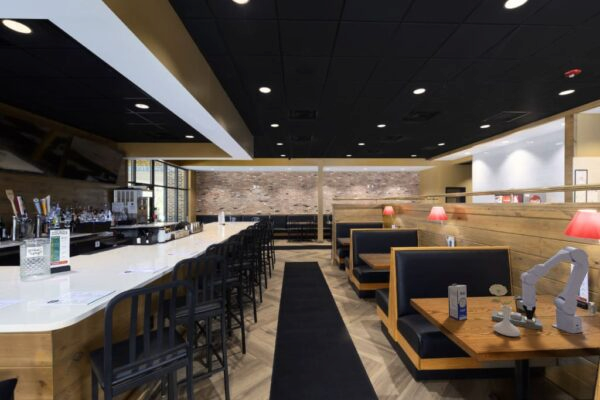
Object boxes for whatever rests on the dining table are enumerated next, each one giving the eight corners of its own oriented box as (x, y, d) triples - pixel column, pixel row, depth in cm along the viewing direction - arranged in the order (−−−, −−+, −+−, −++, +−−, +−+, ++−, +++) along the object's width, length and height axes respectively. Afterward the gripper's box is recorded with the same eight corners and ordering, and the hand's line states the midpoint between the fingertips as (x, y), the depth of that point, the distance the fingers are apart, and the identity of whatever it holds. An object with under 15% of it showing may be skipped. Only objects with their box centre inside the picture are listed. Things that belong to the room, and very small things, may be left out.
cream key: (534, 323, 153) (534, 318, 153) (535, 325, 150) (534, 321, 150) (524, 321, 156) (524, 316, 156) (524, 323, 153) (524, 319, 153)
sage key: (507, 317, 161) (507, 313, 161) (507, 320, 157) (507, 315, 157) (498, 316, 163) (498, 311, 164) (498, 318, 160) (498, 314, 160)
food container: (530, 310, 172) (529, 294, 172) (537, 314, 166) (537, 297, 166) (509, 310, 173) (508, 294, 174) (515, 313, 167) (515, 297, 168)
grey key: (520, 317, 157) (520, 313, 157) (520, 320, 154) (520, 315, 154) (511, 315, 160) (511, 311, 160) (511, 318, 156) (510, 313, 156)
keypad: (541, 323, 154) (540, 319, 154) (542, 330, 145) (542, 325, 146) (493, 313, 168) (493, 310, 168) (492, 319, 159) (491, 315, 159)
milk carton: (458, 320, 158) (458, 286, 159) (448, 316, 165) (447, 283, 165) (467, 318, 161) (466, 284, 161) (457, 314, 167) (456, 281, 168)
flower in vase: (522, 333, 142) (521, 285, 143) (518, 341, 134) (517, 290, 135) (492, 325, 152) (491, 280, 152) (487, 332, 144) (486, 284, 144)
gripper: (519, 290, 161) (520, 313, 161) (519, 296, 150) (520, 321, 150) (535, 292, 157) (536, 316, 157) (536, 299, 146) (537, 325, 145)
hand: (529, 319), depth 153 cm, fingers closed, pressing on cream key
